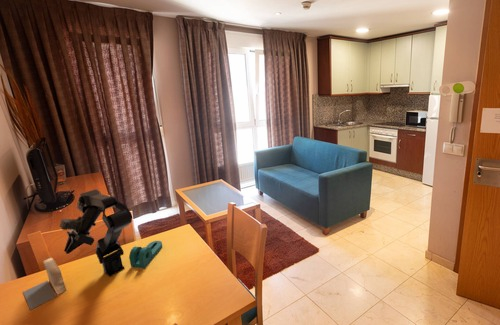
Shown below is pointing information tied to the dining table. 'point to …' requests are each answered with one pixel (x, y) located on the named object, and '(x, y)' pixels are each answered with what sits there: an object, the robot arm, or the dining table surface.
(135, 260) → the bracket
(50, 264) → the beige streaked flat block
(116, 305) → the dining table surface
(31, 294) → the charcoal rubber mat
